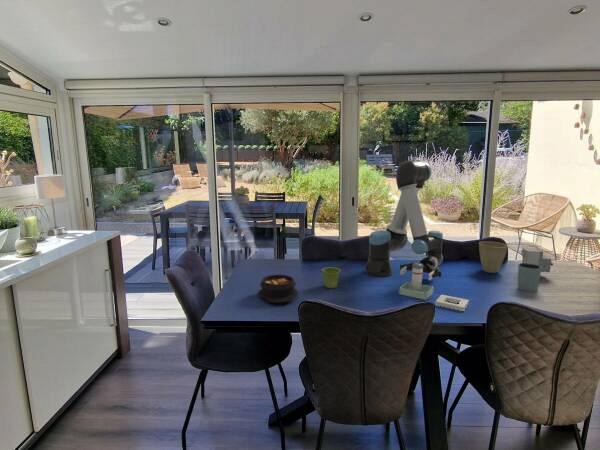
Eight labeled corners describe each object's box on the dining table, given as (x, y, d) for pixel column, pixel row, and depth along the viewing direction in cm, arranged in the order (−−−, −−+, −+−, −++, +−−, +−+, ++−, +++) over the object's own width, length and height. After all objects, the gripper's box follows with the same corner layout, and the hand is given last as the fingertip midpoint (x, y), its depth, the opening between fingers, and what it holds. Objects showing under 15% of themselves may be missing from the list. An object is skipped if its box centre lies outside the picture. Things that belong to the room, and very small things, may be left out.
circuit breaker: (552, 279, 211) (555, 252, 208) (523, 277, 214) (526, 251, 211) (546, 274, 218) (550, 249, 216) (518, 273, 221) (521, 247, 218)
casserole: (301, 305, 175) (301, 287, 174) (260, 307, 172) (259, 289, 171) (293, 286, 199) (293, 270, 198) (257, 288, 196) (256, 272, 195)
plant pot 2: (506, 276, 216) (509, 248, 213) (477, 273, 221) (480, 246, 218) (503, 268, 229) (506, 242, 226) (475, 266, 234) (478, 240, 231)
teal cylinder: (530, 293, 190) (533, 269, 188) (511, 286, 199) (513, 264, 197) (543, 289, 195) (546, 266, 193) (523, 283, 204) (526, 261, 201)
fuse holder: (435, 305, 175) (435, 301, 175) (441, 298, 183) (441, 294, 183) (463, 311, 168) (463, 307, 168) (468, 304, 176) (468, 300, 176)
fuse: (409, 292, 189) (410, 264, 186) (412, 289, 193) (414, 262, 190) (419, 294, 186) (421, 266, 183) (422, 291, 190) (424, 264, 187)
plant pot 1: (341, 284, 202) (342, 268, 200) (337, 290, 193) (338, 273, 192) (324, 282, 205) (324, 266, 203) (319, 288, 196) (319, 271, 195)
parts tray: (398, 293, 189) (399, 287, 188) (406, 287, 198) (406, 281, 197) (426, 299, 182) (426, 293, 181) (433, 292, 191) (433, 286, 190)
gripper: (452, 275, 196) (441, 287, 179) (404, 267, 210) (389, 277, 193) (453, 261, 195) (442, 271, 177) (405, 253, 208) (390, 262, 191)
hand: (415, 274), depth 185 cm, fingers open, 13 cm apart
